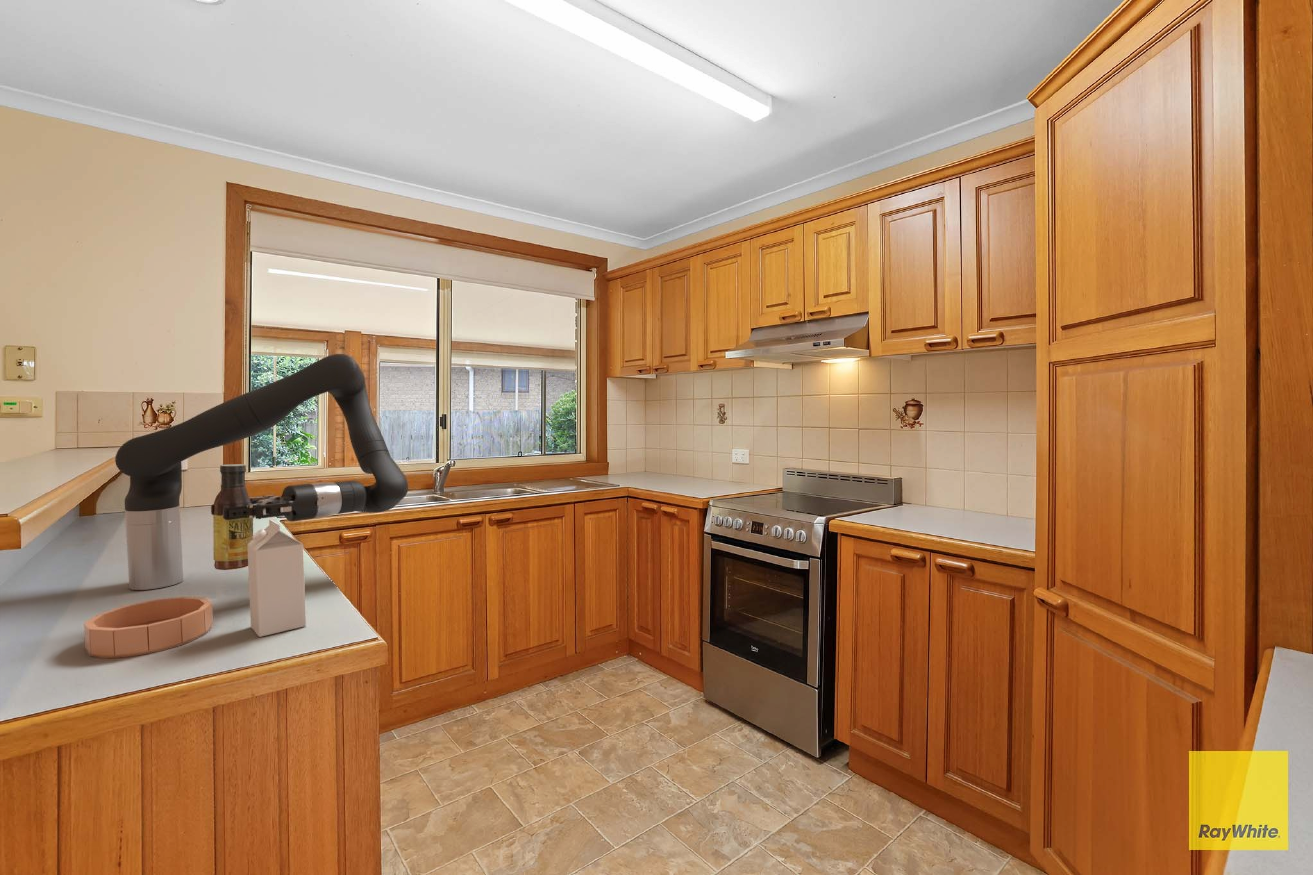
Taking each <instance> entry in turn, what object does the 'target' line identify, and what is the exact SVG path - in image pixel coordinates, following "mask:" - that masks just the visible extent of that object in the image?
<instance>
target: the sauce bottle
mask: <svg viewBox="0 0 1313 875" xmlns="http://www.w3.org/2000/svg"><path fill="white" fill-rule="evenodd" d="M246 466H247V465H246V464H244V463H242V464H241V463H239V464H238V463H237V464H233V463H231V464H220V466H219V469H220V470H219V472H220V474H221V476H220V477H221V483H220V488H221V490H220V491H219V492H218V493H217V495H216V497H215V499H214V501H213V504H214V514H213V515H212V516H213V519H212V520H213V522H212V523H213V525H212V526H213V529H212V530H213V537H212V538H213V548H212V549H213V561H214V563H213V564H214V569H216V570H218V571H228V570H229V571H230V570H237V569H238V570H239V569H243V568H246V567H248V547H247V545H248V543H249V542H251V541H252V540H253V539H252V537H253V535H254V518H248V516H247V518H239V519H231V520H225V519H224V518H223V509H224V508H229V507H238V506H247V508H248V505H250V504H252V503H251V501H250V499H249V498H250V497H249V494H248V491H247V488H246V471H247V467H246Z"/></svg>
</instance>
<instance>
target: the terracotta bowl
mask: <svg viewBox="0 0 1313 875" xmlns="http://www.w3.org/2000/svg"><path fill="white" fill-rule="evenodd" d="M213 616H214V615H213V601H211V600H209V599H208V598H206V597H200V596H177V597H168V598H167V597H165V598H158V599H152V600H147V601H142V602H137V603H133V604H127V605H123V606H120V607H117V608H114V609H110V610H107V611H104V612H102V613H99V614H96V615H94V616H93V617H91V618H90V619H88V620H87V621H85V622H84V623H83V630H84V645H85V646H84V647H85V649H86V651H87V652H86V653H87V654H88V656H91V657H94V658H98V659H118V658H119V659H121V658H128V657H129V658H131V657H135V656H137V657H138V656H142V655H143V656H144V655H148V654H153V653H158V652H162V651H166V650H169V649H173V648H172V647H174V648H176V646H177V647H179V646H178V645H180V646H182V645H185V644H189V643H191V642H193V641H195V639H196V640H197V638H198V639H199V638H202V637H204V636H205V635H207V634H209V632H210V631H211V630H210V629H212V626H213V625H214V618H213ZM208 631H209V632H208ZM206 633H207V634H206ZM203 635H204V636H203ZM201 636H202V637H201ZM188 642H189V643H188Z"/></svg>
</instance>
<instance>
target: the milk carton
mask: <svg viewBox="0 0 1313 875" xmlns="http://www.w3.org/2000/svg"><path fill="white" fill-rule="evenodd" d="M268 524H269V525H267V526H266V527H265V528H264V529H263V528H262V529H259V530H257V531H256V532H254V533H253V537H252V539H253V540H252V541H251V542H249V543H248V545H247V547H248V566H247V567H248V569H247V570H248V571H247V572H248V590H249V612H250V614H249V616H250V627H251V629H252V630H253V631H254V632H255V633H256V635H257V636H258V637H259V638H260V637H265V636H269V635H274V634H279V633H283V632H286V631H290V630H291V631H292V630H295V629H299V628H304V627H306V626H307V617H306V614H307V612H306V589H305V587H306V586H305V565H304V564H305V562H304V544H303V543H302V542H300V541H299V540H297V539H295V538H293V537H292V536H290V535H288V534H286V533H285V532H283V531H281V527H280V526H281V525H280V523H278V522H276V521H275V520H273V519H268Z"/></svg>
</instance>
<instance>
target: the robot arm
mask: <svg viewBox="0 0 1313 875" xmlns="http://www.w3.org/2000/svg"><path fill="white" fill-rule="evenodd" d="M367 390H368V389H367V384H366V379H365V375H364V372H363V371H362V369H361V367H360V366H359V364H358V363H357V361H356V359H355V358H353V357H352V356H350V355H348V354H345V353H334V354H330V355H327V356H325V357H322V358H320V359H319V360H317V361H315V362H313V363H311V364H309V365H307V366H305V367H303V368H302V369H300V370H298V371H296V372H294V373H292V374H289V375H288V376H287V375H286V376H285V377H283V378H280V379H277V380H275V381H273V382H270V383H269V384H266V385H264V386H262V387H259V388H256V389H254V390H250V391H248V392H245V393H243V394H240V395H238V396H236V397H233V398H231V399H229V400H226V401H224V402H222V403H220V404H217V405H215V406H213V407H211V408H209V409H207V410H205V411H203V412H200V413H199V414H196V415H195V416H193V417H192V418H189V419H187V420H185V421H183V422H181V423H178V424H175V425H172V426H170V427H166V428H164V429H160V430H158V431H154V432H150V433H147V434H145V435H142V436H141V435H140V436H137V437H133V438H131V439H129V440H127V441H125V442H124V443H122V445H121V446H119V448H118V450H117V452H116V454H115V459H114V461H115V466H116V467H117V469H118V471H120V472H121V473H122V474H123V475H125V476H128V477H129V489H128V491H127V494H126V496H125V498H124V517H125V534H126V551H127V552H126V553H127V568H128V569H127V572H128V573H127V574H128V588H129V590H132V591H133V590H134V591H145V590H155V589H160V588H165V587H171V586H175V585H177V584H180V583H182V582H183V581H184V570H183V569H184V568H183V567H184V566H183V545H182V528H181V524H182V523H181V510H180V508H181V507H180V504H181V503H180V496H181V493H182V487H183V485H182V484H183V481H182V480H183V479H182V478H183V475H182V474H183V473H182V471H183V470H182V466H183V465H182V462H183V461H185V460H187V459H190V458H191V457H193V456H195V455H198V454H200V453H202V452H205V451H208V450H211V449H214V448H215V449H216V448H218V447H219V448H220V447H222V446H223V447H224V446H226V445H229V444H232V443H236V442H239V441H242V440H244V439H247V438H250V437H253V436H254V435H257V434H259V433H261V432H264V431H267V430H268V429H270V428H272V427H275V426H276V425H278V424H280V422H282V421H283V420H284V419H286V418H287V417H288V416H289V415H290V414H291V413H292V412H293V411H295V409H296V408H297V407H299V406H300V405H301V404H303V403H305V402H306V401H308V400H310V399H313V398H314V397H317V396H319V395H322V394H325V393H328V394H331V396H332V397H333V399H334V401H335V402H336V404H337V405H338V407H339V409H340V410H341V413H342V414H343V417H344V419H345V421H346V425H347V429H348V435H349V440H350V443H351V446H352V450H353V452H354V455H355V458H356V459H357V462H358V465H359V467H360V470H361V471H362V472H364V473H365V474H369V475H372V476H373V477H374V480H375V482H374V483H373V484H371V485H363V484H362V483H361V482H360V481H358V480H357V481H356V480H345V481H335V482H333V481H332V482H314V483H313V482H312V483H303V484H292V485H287V486H285V487H284V488H283V490H282V494H281V496H279V495H275V494H267V495H262V496H253V497H251V496H250V497H249V499H250V501H251V503H252V504H250V505H248V508H247V506H238V507H229V508H224V509H223V518H224V519H225V520H231V519H239V518H247V516H248V518H253V519H254V518H255V519H257V520H261V519H268V518H275V517H284V518H285V519H286V521H288V522H290V523H291V522H300V521H307V520H313V519H314V520H315V519H322V518H326V517H331V516H335V515H340V514H347V513H348V514H349V513H354V512H359V513H370V514H371V513H375V514H376V513H382V512H383V513H384V512H386V511H390V510H391V509H392V510H393V509H394V508H395V507H396V505H398V504H399V503H400V502H401V501H402V500H404V499H405V497H406V496H407V494H408V491H409V482H408V480H407V477H406V475H405V473H404V472H403V470H401V468H400V467H399V465H398V464H397V463H396V461H395V460H394V459H393V457H391V454H390V451H389V448H388V447H387V446H388V445H387V444H386V442H385V439H384V436H383V434H382V431H381V430H380V427H379V426H378V423H377V421H376V419H375V416H374V413H373V411H372V407H371V405H370V400H369V396H368V391H367ZM210 512H211V513H210V514H211V516H213V514H214V503H213V504H211V505H210Z"/></svg>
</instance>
